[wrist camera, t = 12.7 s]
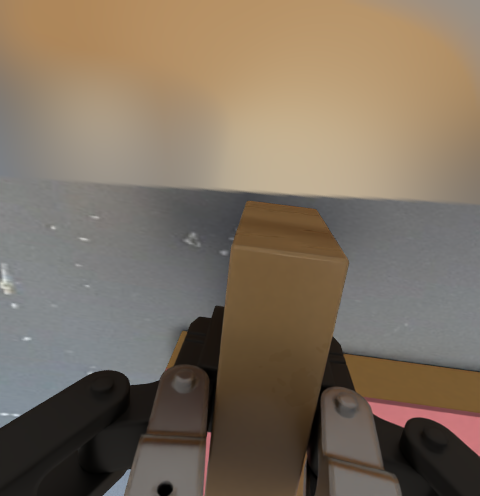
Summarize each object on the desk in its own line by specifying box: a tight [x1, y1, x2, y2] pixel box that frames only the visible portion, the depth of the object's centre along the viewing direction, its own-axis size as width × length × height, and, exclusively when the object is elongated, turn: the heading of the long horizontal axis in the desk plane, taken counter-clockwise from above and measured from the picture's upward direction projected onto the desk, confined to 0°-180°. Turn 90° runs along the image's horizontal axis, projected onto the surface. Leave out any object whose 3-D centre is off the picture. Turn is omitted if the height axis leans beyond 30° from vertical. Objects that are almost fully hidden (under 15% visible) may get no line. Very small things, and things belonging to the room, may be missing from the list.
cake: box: [296, 354, 480, 496], centre depth 24 cm, size 12×12×5 cm
